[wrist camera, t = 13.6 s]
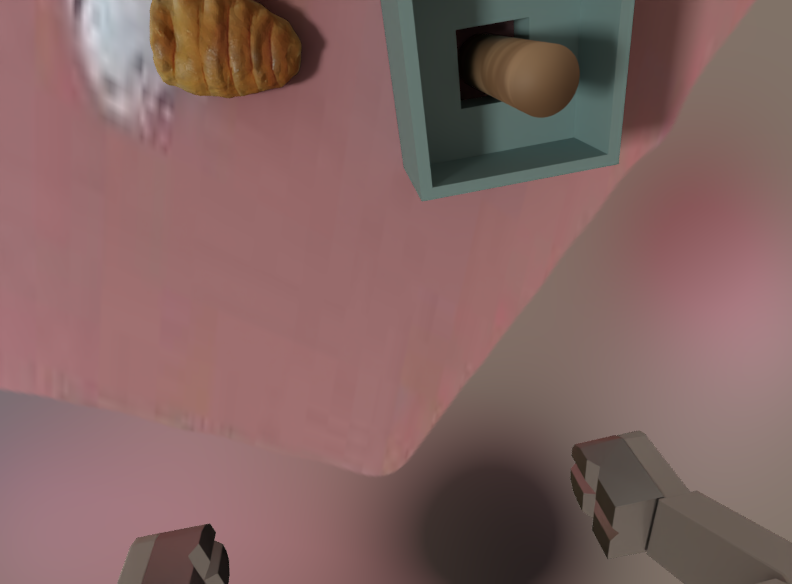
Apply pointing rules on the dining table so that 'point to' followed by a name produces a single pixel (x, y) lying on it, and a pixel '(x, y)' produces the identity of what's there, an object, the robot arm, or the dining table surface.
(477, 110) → the box
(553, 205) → the dining table surface
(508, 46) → the peg
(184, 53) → the pastry
